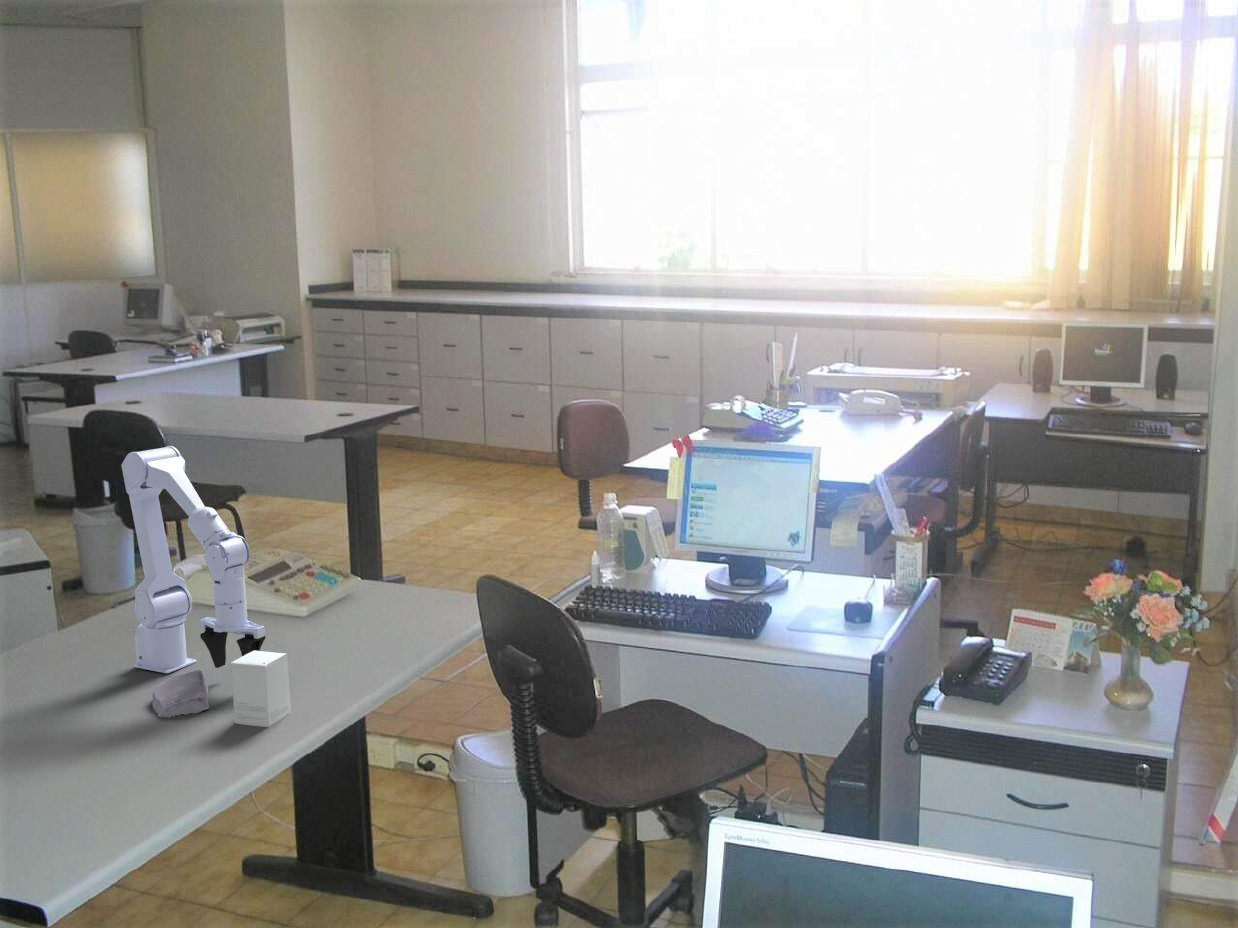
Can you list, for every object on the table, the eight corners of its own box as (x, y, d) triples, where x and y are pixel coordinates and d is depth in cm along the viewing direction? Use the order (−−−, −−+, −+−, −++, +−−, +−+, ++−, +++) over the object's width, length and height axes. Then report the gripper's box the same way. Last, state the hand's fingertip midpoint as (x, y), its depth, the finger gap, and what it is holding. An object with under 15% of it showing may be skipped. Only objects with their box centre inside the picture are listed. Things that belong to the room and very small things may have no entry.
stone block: (150, 674, 235) (206, 667, 238) (153, 698, 237) (209, 690, 240) (148, 702, 225) (207, 694, 227) (151, 727, 226) (209, 718, 229)
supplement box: (293, 719, 228) (289, 652, 226) (269, 734, 221) (264, 665, 219) (258, 715, 230) (254, 649, 228) (233, 729, 224) (229, 661, 221)
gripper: (186, 601, 238) (191, 669, 241) (244, 610, 232) (248, 680, 234) (213, 592, 245) (218, 659, 247) (270, 600, 238) (274, 669, 240)
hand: (234, 669), depth 241 cm, fingers open, 7 cm apart
